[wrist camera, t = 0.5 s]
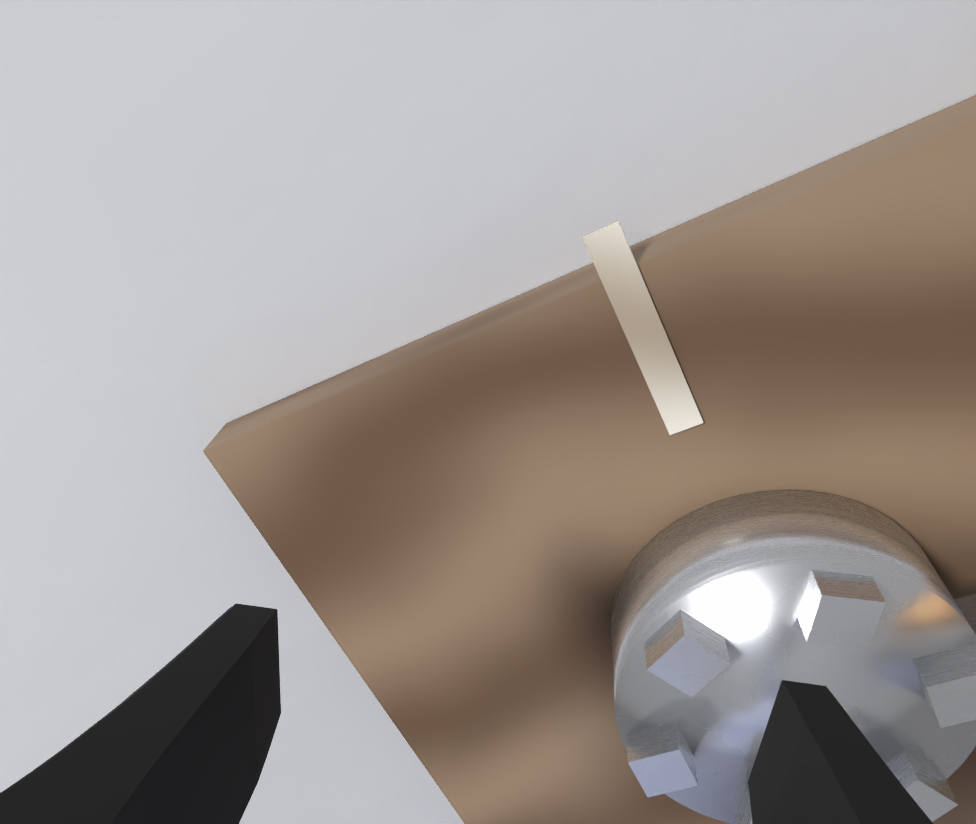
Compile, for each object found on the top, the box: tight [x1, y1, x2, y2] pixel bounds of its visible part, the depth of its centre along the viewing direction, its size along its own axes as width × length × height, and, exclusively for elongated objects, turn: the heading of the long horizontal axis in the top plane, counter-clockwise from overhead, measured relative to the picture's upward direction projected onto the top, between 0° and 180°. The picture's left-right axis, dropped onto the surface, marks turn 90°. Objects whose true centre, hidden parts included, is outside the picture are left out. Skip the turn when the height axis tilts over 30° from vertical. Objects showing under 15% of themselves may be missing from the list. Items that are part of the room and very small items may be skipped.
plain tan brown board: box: [203, 95, 976, 824], centre depth 21 cm, size 21×22×2 cm
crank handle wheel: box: [611, 489, 976, 824], centre depth 17 cm, size 14×8×6 cm, turn 116°
